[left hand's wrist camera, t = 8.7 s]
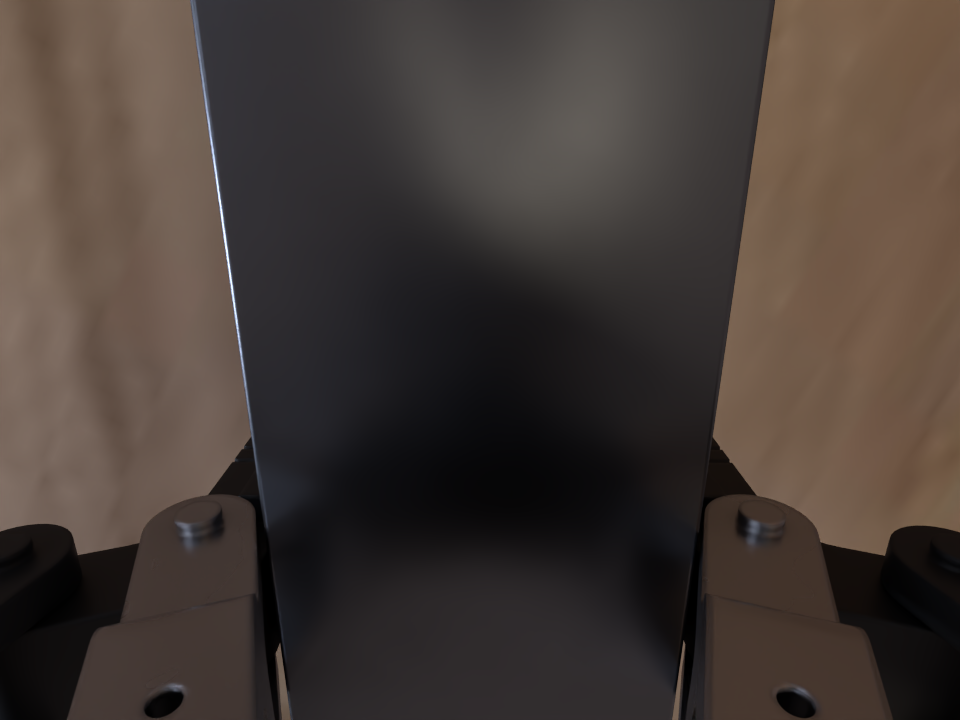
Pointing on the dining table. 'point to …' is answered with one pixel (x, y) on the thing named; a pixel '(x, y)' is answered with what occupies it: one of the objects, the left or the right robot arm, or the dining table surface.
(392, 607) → the bar
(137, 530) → the dining table surface
